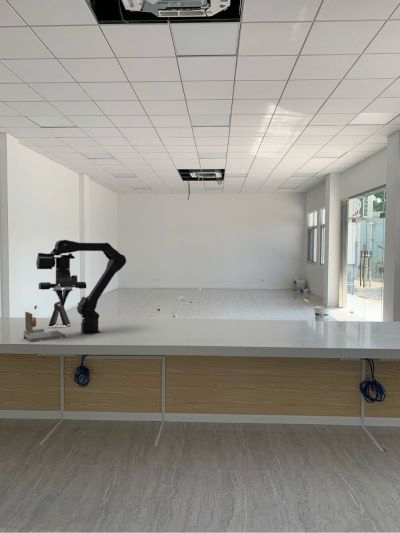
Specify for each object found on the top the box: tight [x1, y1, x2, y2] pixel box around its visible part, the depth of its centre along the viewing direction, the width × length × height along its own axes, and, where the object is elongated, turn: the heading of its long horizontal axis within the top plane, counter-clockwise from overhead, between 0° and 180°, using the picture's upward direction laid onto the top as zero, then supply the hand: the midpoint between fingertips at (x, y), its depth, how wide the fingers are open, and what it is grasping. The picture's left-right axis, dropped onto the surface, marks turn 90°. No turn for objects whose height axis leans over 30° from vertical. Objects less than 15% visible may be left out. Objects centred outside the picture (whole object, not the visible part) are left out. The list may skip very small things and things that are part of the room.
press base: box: [23, 328, 66, 343], centre depth 167 cm, size 14×11×3 cm
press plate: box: [24, 311, 37, 333], centre depth 164 cm, size 3×8×8 cm, turn 37°
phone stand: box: [48, 300, 71, 326], centre depth 192 cm, size 9×6×12 cm, turn 92°
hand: (62, 305), depth 169 cm, fingers closed
